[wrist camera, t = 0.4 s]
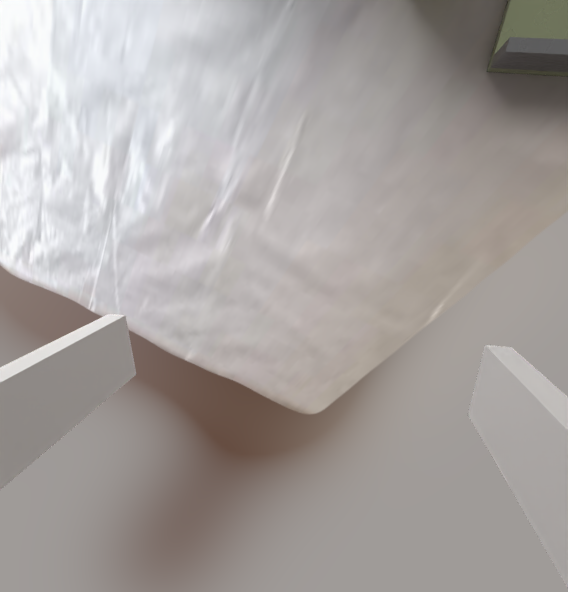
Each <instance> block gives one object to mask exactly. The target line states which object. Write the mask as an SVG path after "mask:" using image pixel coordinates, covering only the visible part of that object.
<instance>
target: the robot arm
mask: <svg viewBox="0 0 568 592" xmlns="http://www.w3.org/2000/svg"><path fill="white" fill-rule="evenodd" d="M135 375H136V370H135V365H134V360H133V354H132V349H131V343H130V338H129V332H128V327H127V322H126V316H125V315H114V314H108V315H106V316H104V317H102V318H100V319H98V320H96V321H94V322H92V323H90V324H88V325H86V326H84V327H81V328H80V329H77V330H76V331H73V332H71V333H69V334H67V335H65V336H63V337H61V338H59V339H57V340H55V341H53V342H51V343H49V344H47V345H45V346H43V347H41V348H39V349H37V350H35V351H33V352H31V353H29V354H27V355H25V356H23V357H21V358H19V359H17V360H15V361H13V362H11V363H9V364H7V365H5V366H3V367H0V490H1V489H2V488H3V487H4V486H5V485H7V484H8V483H9V482H10V481H11V480H13V479H14V478H15V477H16V476H17V475H19V474H20V473H21V472H22V471H23V470H24V469H25V468H27V467H28V466H29V465H30V464H31V463H33V462H34V461H35V460H36V459H37V458H39V457H40V456H41V455H42V454H43V453H44V452H46V451H47V450H48V449H49V448H50V447H51V446H53V445H54V444H55V443H56V442H57V441H59V440H60V439H61V438H62V437H63V436H64V435H66V434H67V433H68V432H69V431H70V430H71V429H73V428H74V427H75V426H76V425H77V424H79V423H80V422H81V421H82V420H83V419H84V418H86V417H87V416H88V415H89V414H90V413H91V412H92V411H94V410H95V409H96V408H97V407H98V406H100V405H101V404H102V403H103V402H104V401H106V400H107V399H108V398H109V397H110V396H111V395H113V394H114V393H115V392H116V391H117V390H118V389H120V388H121V387H122V386H123V385H124V384H126V383H127V382H128V381H129V380H130V379H131V378H133V377H134V376H135ZM468 416H469V418H470V420H471V421H472V423H473V425H474V427H475V428H476V430H477V432H478V434H479V435H480V437H481V439H482V441H483V442H484V444H485V446H486V447H487V449H488V451H489V453H490V454H491V456H492V458H493V460H494V461H495V463H496V465H497V466H498V468H499V470H500V472H501V473H502V475H503V477H504V479H505V480H506V482H507V484H508V486H509V487H510V489H511V491H512V493H513V494H514V496H515V498H516V500H517V501H518V503H519V504H520V507H521V508H522V510H523V512H524V513H525V515H526V517H527V519H528V520H529V522H530V524H531V525H532V527H533V529H534V531H535V532H536V534H537V536H538V538H539V540H540V541H541V543H542V545H543V546H544V548H545V550H546V551H547V553H548V555H549V557H550V559H551V560H552V562H553V564H554V565H555V567H556V569H557V571H558V572H559V574H560V576H561V577H562V579H563V581H564V583H565V585H566V586H567V588H568V397H567V396H566V395H565V394H564V393H563V392H562V391H561V390H559V389H558V388H557V387H556V386H555V385H554V384H552V383H551V382H550V381H549V380H548V379H547V378H546V377H545V376H544V375H542V374H541V373H540V372H539V371H538V370H537V369H536V368H534V367H533V366H532V365H531V364H530V363H529V362H527V360H525V359H524V358H523V357H522V356H521V355H520V354H518V353H517V352H516V351H515V350H514V349H513V348H512V347H504V346H491V345H485V346H484V351H483V355H482V359H481V363H480V367H479V371H478V375H477V379H476V383H475V387H474V391H473V395H472V399H471V404H470V408H469V412H468Z"/></svg>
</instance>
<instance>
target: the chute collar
mask: <svg viewBox="0 0 568 592" xmlns="http://www.w3.org/2000/svg"><path fill="white" fill-rule="evenodd" d="M487 72H500V73H517V74H534V75H550V76H567V77H568V0H508V2H507V6H506V9H505V12H504V16H503V19H502V22H501V26H500V29H499V32H498V36H497V39H496V42H495V45H494V49H493V52H492V55H491V59H490V62H489V65H488V69H487Z"/></svg>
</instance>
